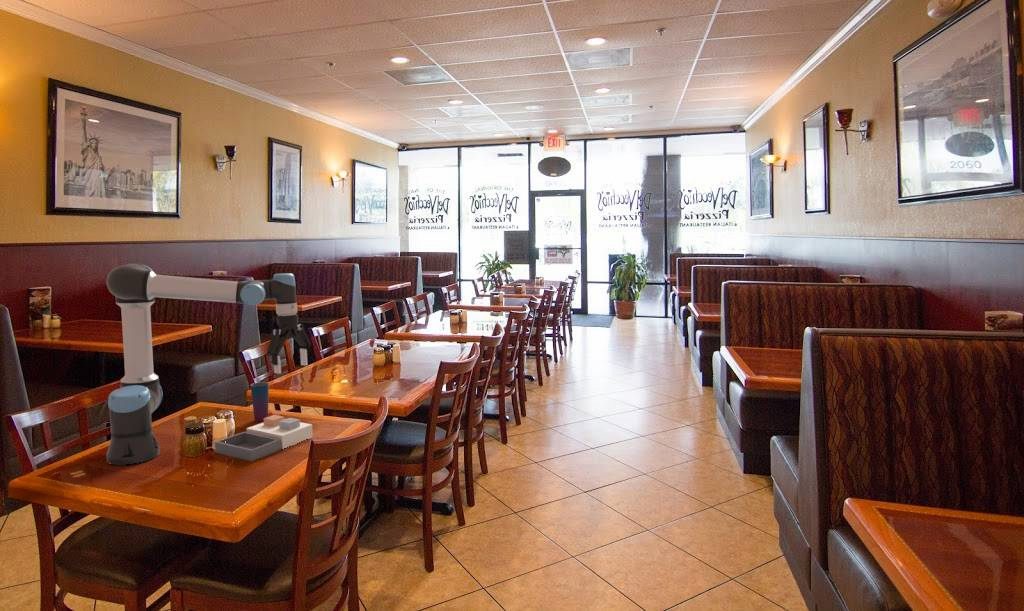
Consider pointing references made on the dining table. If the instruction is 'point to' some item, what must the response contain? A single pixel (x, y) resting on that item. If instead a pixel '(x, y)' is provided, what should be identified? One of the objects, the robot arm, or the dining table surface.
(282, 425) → the slate tile
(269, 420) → the terracotta tile
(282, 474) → the dining table surface
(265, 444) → the box
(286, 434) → the raised board
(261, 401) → the cup
